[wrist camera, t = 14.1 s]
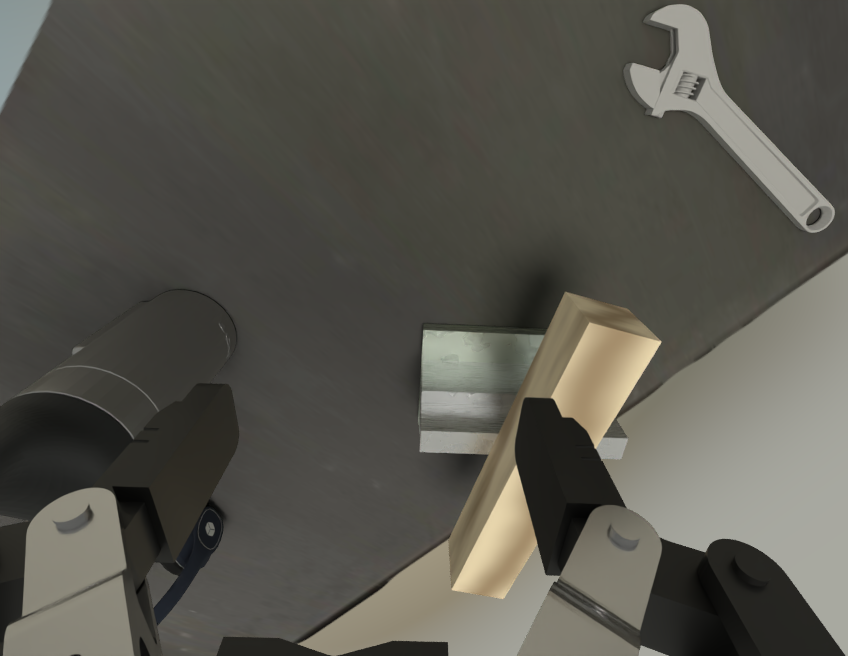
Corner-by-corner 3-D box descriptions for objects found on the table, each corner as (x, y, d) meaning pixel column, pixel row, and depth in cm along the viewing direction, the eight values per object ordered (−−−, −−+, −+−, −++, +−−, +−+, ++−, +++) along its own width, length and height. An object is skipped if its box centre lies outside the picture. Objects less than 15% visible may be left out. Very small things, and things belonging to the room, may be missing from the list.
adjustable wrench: (827, 211, 40) (844, 215, 38) (763, 261, 42) (776, 267, 40) (671, -9, 32) (684, -15, 30) (602, 67, 34) (611, 65, 33)
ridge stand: (418, 415, 50) (417, 490, 40) (423, 323, 44) (424, 384, 34) (571, 421, 50) (607, 497, 40) (595, 331, 45) (644, 393, 35)
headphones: (210, 486, 55) (120, 645, 38) (239, 520, 58) (167, 681, 41) (85, 525, 58) (-47, 687, 42) (119, 556, 61) (8, 718, 45)
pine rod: (448, 540, 43) (451, 589, 39) (565, 291, 31) (589, 322, 26) (495, 549, 44) (503, 598, 39) (627, 308, 31) (661, 341, 27)
